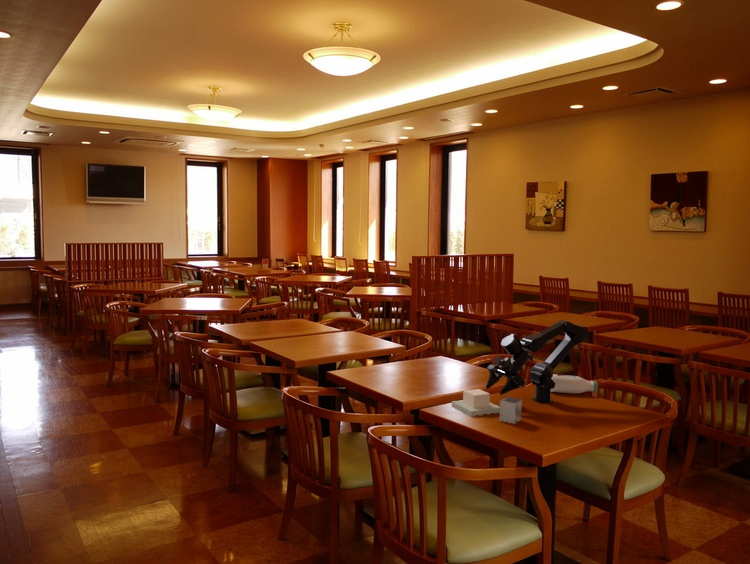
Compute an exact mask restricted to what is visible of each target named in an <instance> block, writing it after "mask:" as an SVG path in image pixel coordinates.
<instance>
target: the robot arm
mask: <svg viewBox="0 0 750 564" xmlns="http://www.w3.org/2000/svg"><path fill="white" fill-rule="evenodd" d="M563 333H565V334H564V338H563V340H561V342H560V343H559V345H557V347H556V348H555V349H554V351H552V353H551V354H550V355H549V356H548V357H547V358H546V359H545V361H543V362H542V363H541V362H538V361H537V362H536V363H535V365H534V366H532V367H531V368H530V371H529V379H530V381H531V384H532V385H534V386H535V392H534V393H535V394H534V397H531V400H533V401H535V402H537V403H538V404H546V403H554V400H552V399H551V393H552V392H551V389H553V388H554V387H555V382H554V381H553V380H552V379H551V378H552V377H553V374H554V371H555V369H556V368H557V366H558V365H560V363H562V361H563V360H564V359H565V357H566V356H567V355H568V354H569V353H570V352H571V351H572V350H573V348H574V347H576V346H577V345H579V344H581V343H583V342H584V341H586V340H587V338H588V337H589V336H590V335H589V329H588V327H586V326H583V325H579V324H574V323H573V322H570V321H569V320H564V319H560V320H558V321H557V323H554V324H552V325H550V326H549V327H547V328H545V329H543V330H542V331H540V332H538V333H535V334H529V335H525V336H523V338H522V339H519V338H518V337H517V335H516V334H514V333H511V334H510V335H507V336H505V337H504V338H502V340H501V342H500V345H501V346H502V347H503V349H505V351H506V352H507V353H508V354H509V355H510V356H511V357H510V358H509V357H505V358H504V357H503V358H502V357H500V356H498V355H496V356H495V357H494V360H493V361H492V363H490V364H489V365H488V366H487V371H488V373H489V377H488V379H487V383H486V385H485V389H487V390H488V389H491V387H493V386H494V385H495V384H497V383H498V382H499V381H501V378H503V377H504V378H506V382H505V383H504V385H503V387H502V388H501V390H499V391H500V392H499V395H500V396H502V395H504V394H506V393H509V392H511V391H513V390H516V389H520V388H523V387H524V386H525V385H526V380H525V379H524V377H523V376H522V375H521V374H520V373H519V372H522V371H523V368H522V367H523V366H524V365H525V364H526V363H527V361H530V362H534V358H533V354H532V353H538V352H539V351H540V350H542V348H544V346H545V344H546V343H547V342H549V341H552V340H553V339H555V338H556V337H558V336H560V335H562V334H563ZM529 352H530V353H529Z"/></svg>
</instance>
